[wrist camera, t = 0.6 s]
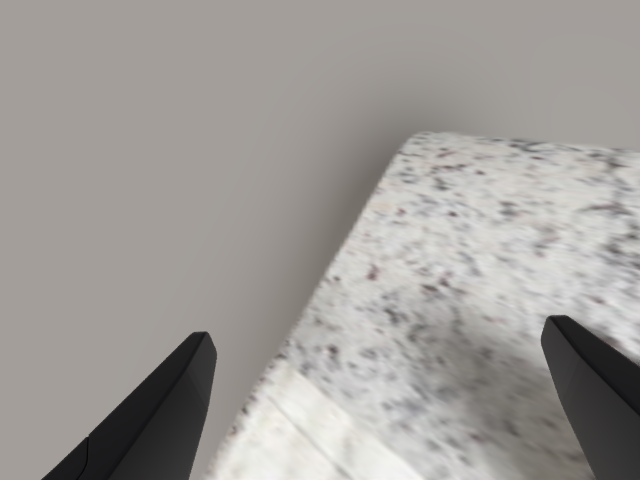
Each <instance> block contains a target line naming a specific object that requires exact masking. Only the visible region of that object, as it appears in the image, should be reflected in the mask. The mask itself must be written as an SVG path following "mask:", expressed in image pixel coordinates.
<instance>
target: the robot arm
mask: <svg viewBox="0 0 640 480" xmlns="http://www.w3.org/2000/svg"><path fill="white" fill-rule="evenodd" d="M541 346H542V349H543V352H544V355H545V358H546V361H547V364H548V367H549V370H550V373H551V375H552V378H553V381H554V384H555V387H556V390H557V393H558V396H559V399H560V401H561V404H562V406H563V409H564V411H565V413H566V415H567V418H568V420H569V422H570V424H571V426H572V428H573V430H574V433H575V435H576V437H577V439H578V441H579V443H580V445H581V448H582V450H583V452H584V454H585V456H586V458H587V460H588V463H589V465H590V467H591V469H592V471H593V473H594V475H595V478H596V480H640V366H638V365H637V364H635V363H634V362H632V361H631V360H630V359H628V358H627V357H625V356H624V355H623V354H621V353H620V352H618V351H617V350H615V349H614V348H613V347H611V346H610V345H608V344H607V343H606V342H604V341H603V340H601V339H600V338H598V337H597V336H596V335H594V334H593V333H591V332H590V331H588V330H587V329H586V328H584V327H583V326H581V325H580V324H579V323H577V322H576V321H574V320H573V319H571V318H570V317H568V316H566V315H551V316H548V317H547V319H546V322H545V325H544V328H543V332H542V335H541ZM216 360H217V352H216V348H215V346H214V344H213V342H212V339H211V337H210V335H209V333H208V332H194V333H192V334H191V335H189V336H188V337H187V338H186V340H185V341H183V342H182V343H181V344H180V345H179V346H178V347H177V348H176V349H175V350H174V351H173V352H172V353H171V354H170V355H169V356H168V357H167V358H166V359H165V360H164V361H163V362H162V363H161V364H160V365H159V366H158V367H157V368H156V369H155V370H154V371H153V372H152V373H151V374H150V375H149V376H148V377H147V378H146V379H145V380H144V381H143V382H142V383H141V384H140V385H139V386H138V387H137V388H136V389H135V390H134V391H133V392H132V393H131V394H130V395H129V396H128V397H127V398H126V399H124V400H123V401H122V403H121V404H119V405H118V406H117V407H116V408H115V410H113V411H112V412H111V413H110V414H109V415H108V416H107V417H106V418H105V419H104V420H103V421H102V422H101V423H100V424H99V425H98V426H97V427H96V428H95V429H94V430H93V431H92V432H91V433H90V434H89V437H86V438H85V439H84V440H83V441H82V442H81V443H80V444H79V445H78V446H77V447H76V448H75V449H74V450H73V451H71V452H70V454H68V455H67V456H66V457H65V458H64V459H63V460H62V461H61V462H60V463H59V464H58V465H57V466H56V467H55V468H54V469H53V470H51V471H50V472H49V473H48V474H47V475H46V476H45V477H44V478H42V479H41V480H189V477H190V473H191V470H192V466H193V462H194V459H195V455H196V452H197V448H198V445H199V441H200V437H201V434H202V430H203V426H204V423H205V419H206V416H207V412H208V406H209V402H210V396H211V389H212V384H213V377H214V372H215V366H216Z"/></svg>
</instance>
